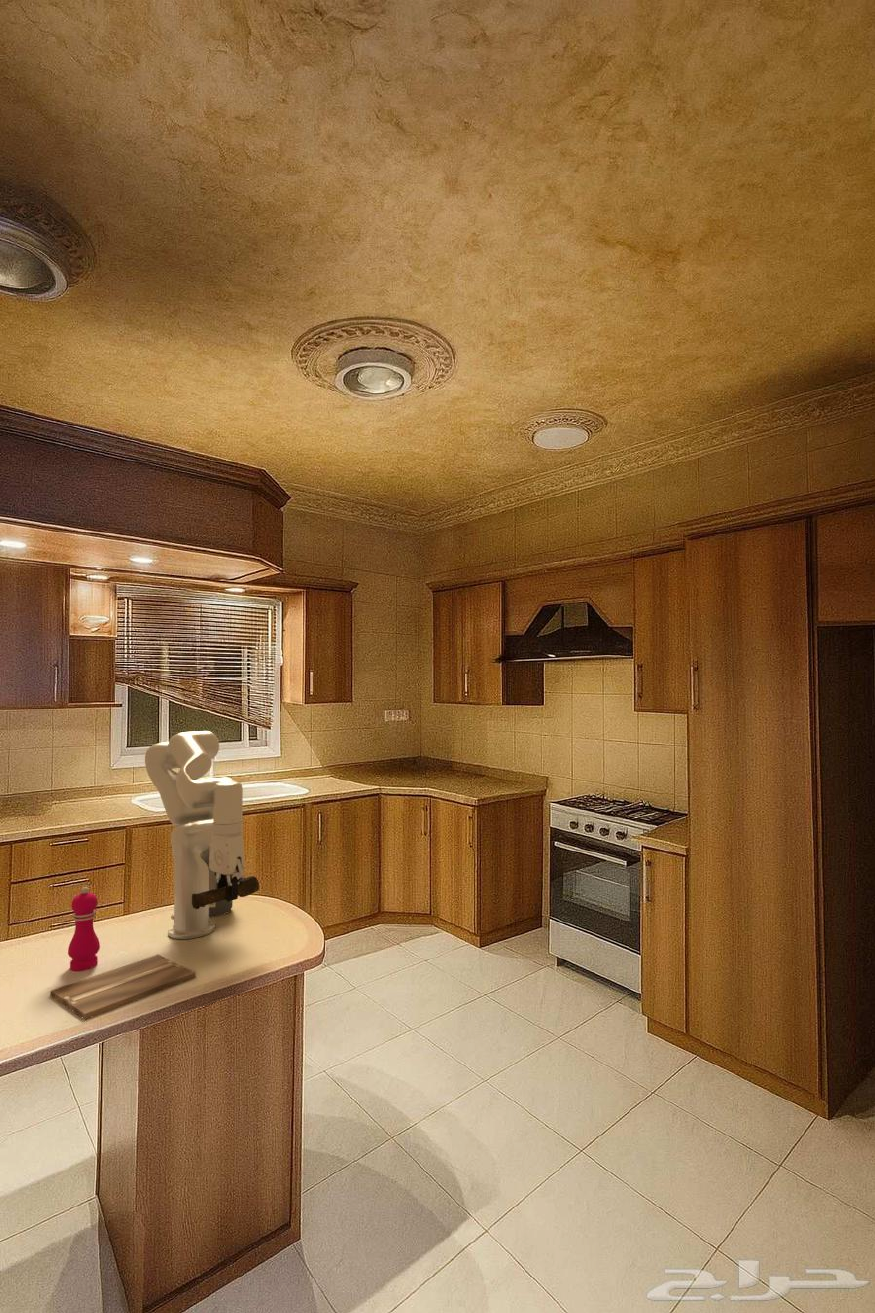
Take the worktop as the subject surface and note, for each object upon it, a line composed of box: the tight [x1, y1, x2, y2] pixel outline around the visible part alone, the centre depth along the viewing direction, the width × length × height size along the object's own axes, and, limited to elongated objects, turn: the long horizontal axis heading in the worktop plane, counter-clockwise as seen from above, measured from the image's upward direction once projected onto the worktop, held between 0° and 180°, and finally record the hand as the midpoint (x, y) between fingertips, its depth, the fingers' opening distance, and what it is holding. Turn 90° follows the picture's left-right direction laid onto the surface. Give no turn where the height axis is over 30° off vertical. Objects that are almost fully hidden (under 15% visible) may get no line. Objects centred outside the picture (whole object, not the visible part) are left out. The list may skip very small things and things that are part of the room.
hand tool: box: [192, 875, 260, 909], centre depth 175 cm, size 19×4×5 cm, turn 136°
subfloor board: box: [50, 954, 197, 1020], centre depth 157 cm, size 18×26×1 cm
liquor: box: [200, 852, 234, 918], centre depth 210 cm, size 9×9×30 cm
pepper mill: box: [67, 886, 101, 972], centre depth 169 cm, size 7×7×20 cm
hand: (227, 898), depth 175 cm, fingers closed on hand tool, 3 cm apart
